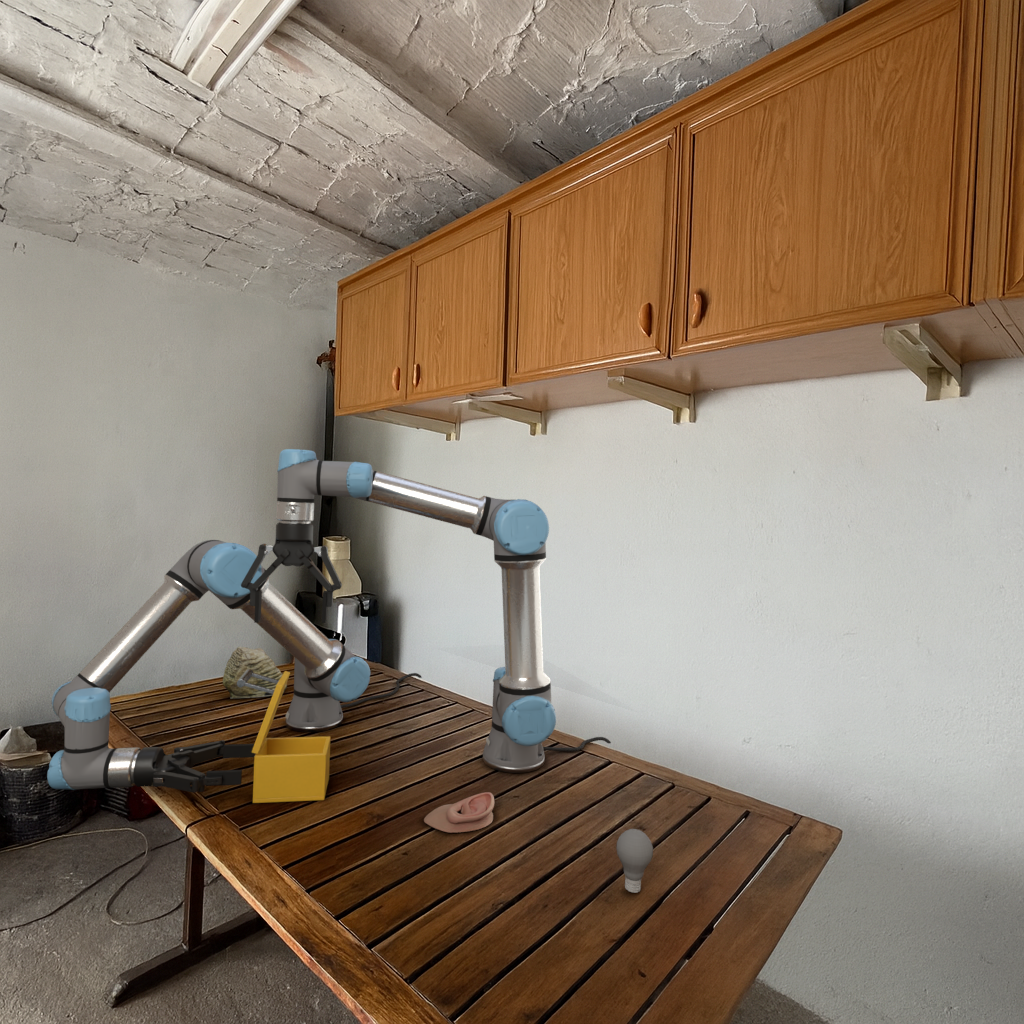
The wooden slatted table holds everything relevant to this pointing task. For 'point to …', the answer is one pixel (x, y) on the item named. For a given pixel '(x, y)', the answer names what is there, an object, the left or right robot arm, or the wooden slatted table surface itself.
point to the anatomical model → (463, 814)
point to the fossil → (258, 664)
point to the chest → (291, 769)
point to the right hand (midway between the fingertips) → (291, 621)
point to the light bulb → (634, 857)
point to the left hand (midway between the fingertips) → (248, 763)
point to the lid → (272, 706)
